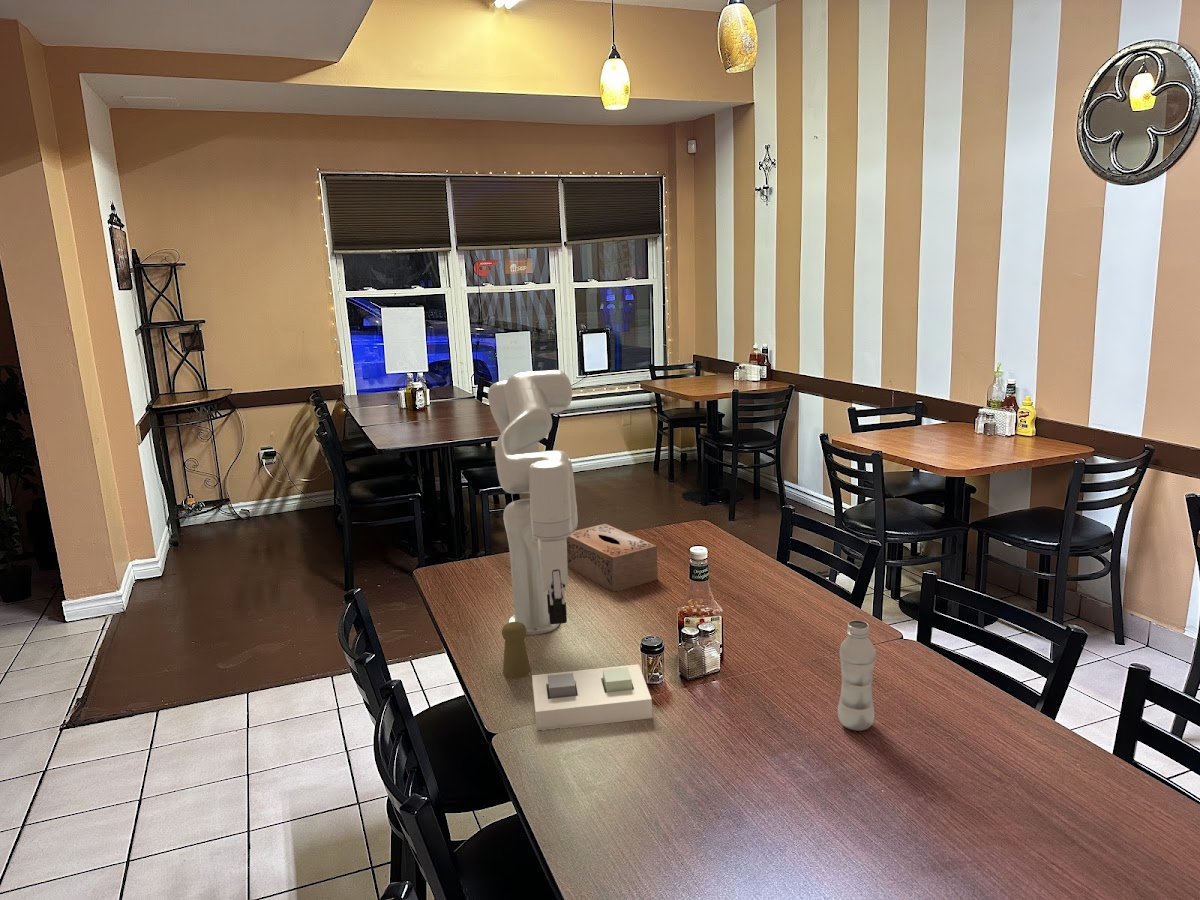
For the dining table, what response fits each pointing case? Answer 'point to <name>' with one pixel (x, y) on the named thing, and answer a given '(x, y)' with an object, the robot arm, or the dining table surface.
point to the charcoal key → (561, 685)
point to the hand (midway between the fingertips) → (557, 617)
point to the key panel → (591, 700)
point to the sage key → (617, 680)
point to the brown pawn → (515, 651)
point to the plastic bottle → (857, 678)
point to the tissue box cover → (612, 557)
